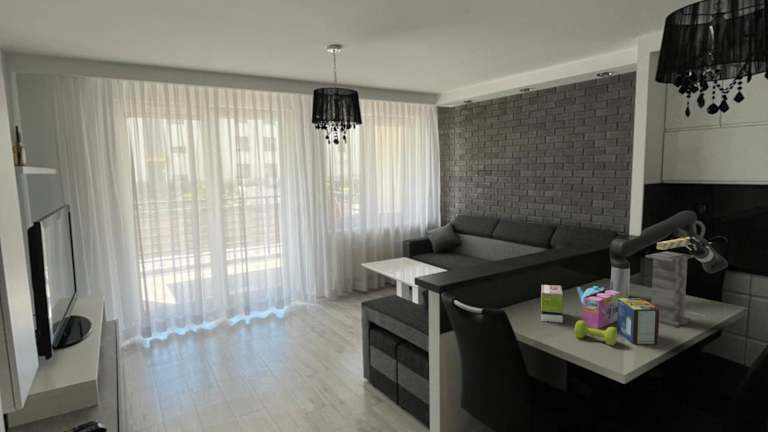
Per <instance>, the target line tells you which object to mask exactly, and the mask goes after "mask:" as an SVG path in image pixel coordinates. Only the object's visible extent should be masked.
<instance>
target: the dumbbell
mask: <svg viewBox="0 0 768 432" xmlns="http://www.w3.org/2000/svg"><path fill="white" fill-rule="evenodd" d="M573 330H574V335H575V337H576V338H577V339H583V338H585V337H586V335H588V336H593V337H597V338H602V339H604V340H605V343H606V345H608V346H612V347H613V346H615V345H616V344H617V342H618V336H619V335H618V333H619V332H618V331H617V327H614V326H609V327H607V328H606V329H605V330H601V329H597V328H593V327H589V326H586V323H585V322H584V321H583V320H577V321H576V322H575V325H574V329H573Z"/></svg>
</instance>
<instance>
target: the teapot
mask: <svg viewBox="0 0 768 432" xmlns="http://www.w3.org/2000/svg"><path fill="white" fill-rule="evenodd" d="M604 289H605V287H603V286H602V287H600V288H599V286H596V285H594V286H592V287H589V288H587V289H586V290H585V291H583V289H582V288H581V287H579V286H577V287H576V290H577V293H578V297H579V299H580V303H581V304H582V305H583V302H584V297H586V296H589V295H591V294H594V293H597V292H599V291H602V290H604Z"/></svg>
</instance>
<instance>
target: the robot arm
mask: <svg viewBox="0 0 768 432" xmlns="http://www.w3.org/2000/svg"><path fill="white" fill-rule="evenodd" d="M697 219H698V216H697V214H696V212H695V211H692V210H687V209H686V210H682V211H679V212H678V213H676V214H675V215H673V216H671V217H669V218H666V219H664V220H663V221H660V222H658V223H655V224H654V225H650V226H649V227H647V228H644V229H643V230H642V231H641V233H640V234H639V235H637V236H636V237H634V238H630V239H622V238H614V239H613V240H612V241H611V242H610V245H609V259H610V264H611V270H610V271H611V273H610V285H609V286H610V288H609V289H610V290H611V291H617V292H619V293H620V291H621V292H622V298H629V297H630V280H631V279H630V277H631V276H630V275H631V263H630V262H629V261H628V260H627V258H626V257H630V256H632V255H634V254H636V253H637V252H639V251H640V250H643V249H644V248H647V247H649V246H651V245H653V244H657V242H661V241H663V240H665V239H666V238H667V237H668V236H670V235H671V234H672V233H673V232H674V231H675V230H678V231H679V232H680V233H681V234H682V236H680V238H686V237H689V242H690V243H691V245H686V246H684V247H685V248H686V249H688V252H689V253H690V255H694V257H693V258H695V259H696V260H698V261H699V262H700V263H701V264H702V269H703V270H704V271H705V272H706V273H708V274H715V273H717V272H719V271H720V272H721V271H722V270H724V269H726V268H727V267H728V266H729V262H728V261H727V259H726V258H724V257H723V256H722V255H721V254H720V253H718V252H716V250H715V249H714V247H713V246H712V245H711V244H710V242H709V241H708V240H707V239H706V238H704V237H702V236H700V235H698V234H697V233H696V232H695V228H694V226H695V224H696V222H697ZM692 237H693V238H695V240H694V239H693V238H692ZM682 247H683V246H681V247H680V248H682Z"/></svg>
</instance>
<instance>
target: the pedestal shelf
mask: <svg viewBox="0 0 768 432" xmlns="http://www.w3.org/2000/svg"><path fill="white" fill-rule="evenodd" d="M644 257H645V258H647V259H652V281H651V300H650V301H651V302H650V304H652V305H653V306H655V307H657V308H658V309H660V310H659V324H662V325H666V326H668V327H671V328H676V327H680V326H682V325H685V324H688V323H692V318H690V317H687V316H685V308H686V294H687V275H688V259H693V258H695V257H694V255H692V254H687V253H680V252H673V251H667V250H665V251H662V252H657V253H655V252H654V253H651V254H646V255H645V256H644Z"/></svg>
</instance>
